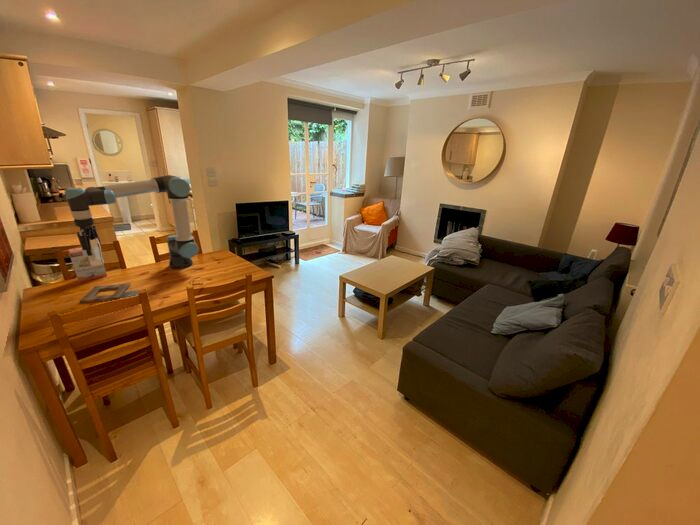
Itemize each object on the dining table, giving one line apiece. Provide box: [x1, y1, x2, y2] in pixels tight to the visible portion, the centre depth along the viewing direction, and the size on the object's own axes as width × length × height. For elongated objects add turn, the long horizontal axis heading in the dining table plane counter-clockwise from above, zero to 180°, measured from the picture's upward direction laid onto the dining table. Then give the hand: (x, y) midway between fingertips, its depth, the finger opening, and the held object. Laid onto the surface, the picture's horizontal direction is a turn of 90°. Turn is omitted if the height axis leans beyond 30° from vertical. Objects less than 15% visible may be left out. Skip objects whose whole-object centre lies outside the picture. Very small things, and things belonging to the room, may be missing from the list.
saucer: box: [118, 289, 139, 300], centre depth 167 cm, size 12×12×1 cm
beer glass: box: [85, 237, 105, 266], centre depth 158 cm, size 7×7×15 cm
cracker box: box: [67, 246, 108, 283], centre depth 182 cm, size 14×6×21 cm, turn 139°
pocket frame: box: [79, 282, 131, 304], centre depth 168 cm, size 18×18×2 cm
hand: (95, 258), depth 159 cm, fingers closed on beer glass, 7 cm apart
